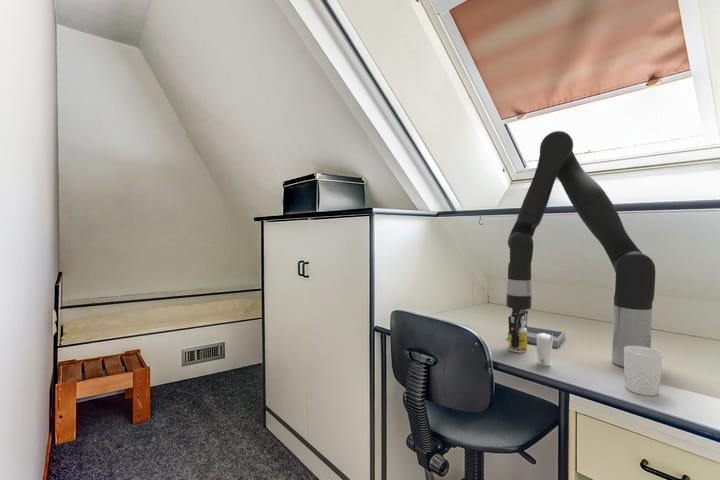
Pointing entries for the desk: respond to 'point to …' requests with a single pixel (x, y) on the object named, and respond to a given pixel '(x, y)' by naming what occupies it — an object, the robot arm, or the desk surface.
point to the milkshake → (544, 348)
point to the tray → (557, 335)
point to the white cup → (642, 370)
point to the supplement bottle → (520, 340)
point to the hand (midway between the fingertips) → (517, 344)
